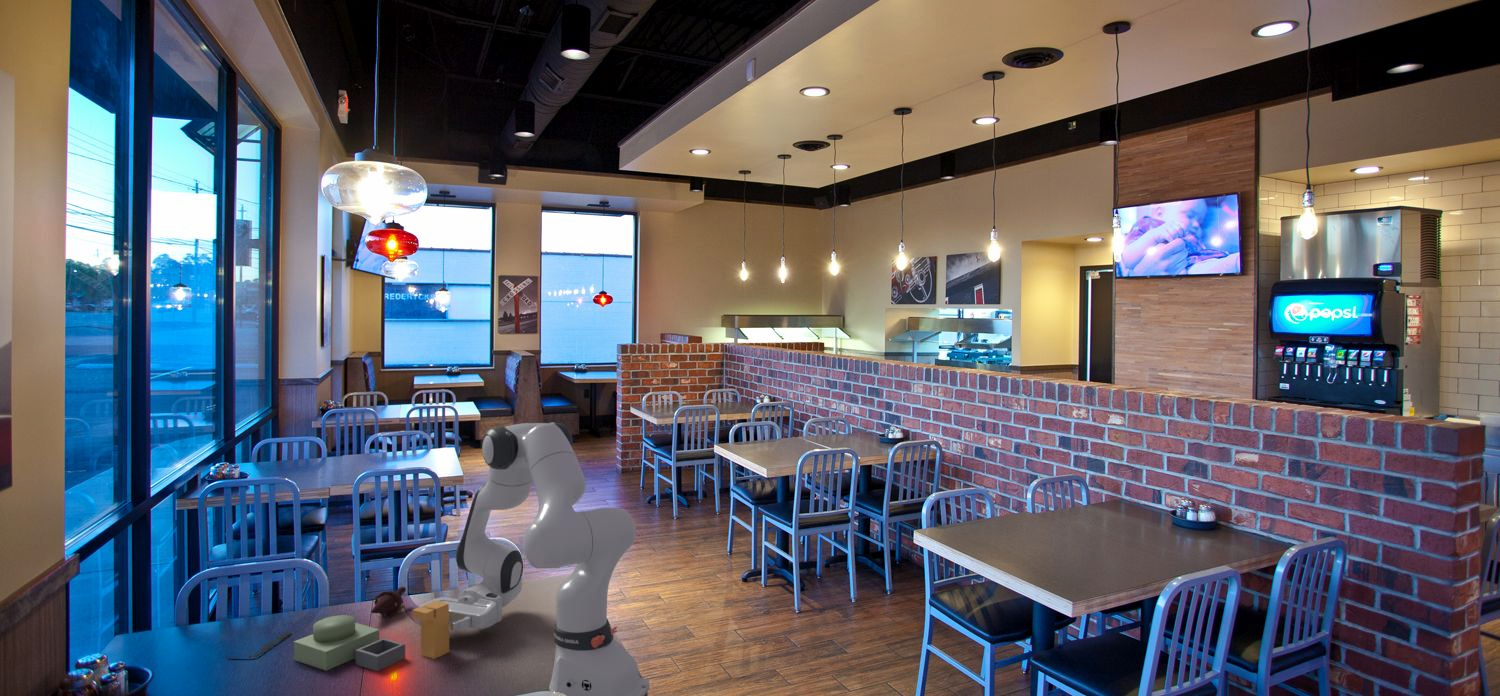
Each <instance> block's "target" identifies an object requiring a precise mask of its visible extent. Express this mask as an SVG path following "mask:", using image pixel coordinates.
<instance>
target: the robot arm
mask: <svg viewBox="0 0 1500 696" xmlns="http://www.w3.org/2000/svg"><path fill="white" fill-rule="evenodd" d="M481 448H482V456H483V459H484V462H485V463H486V465H487V466H488V467H489V469H488V476H487V480H486V483H485V484H483V485H481V486H479V488H478V489H477V490H476V492H475V494H474V496H473V498H472V501H471V504H470V509H469V512H468V515H467V519H466V523H465V526H464V530H463V534H462V536H461V539H460V541H459V543H458V545H457V548H456V549H455V561H456V566H457V567H458V568H459V570H461V571H465V572H468V573H470V574H471V573H472V574H474V575H477V576H479V577H480V578H482V581H481V582H480V583H477V584H474V585H473V586H470V587H469V588H466V589H464V590H463V591H461V592H460V593H459V595H458V596H457V598H452V597H445V596H441V597H436V598H433V599H431V600H428V601H426V602H423V603H422V604H421V605H420V606H419V607H421V606H423V605H426V604H428V603H431V602H433V601H440V602H444V603H448V604H449V631H455V632H456V631H458V630H461V629H466V628H472V629H478V630H483V629H487V628H490V627H492V626H493V625H495V624H497V623H499V622H501V621H502V619H503V608H505V607H506V606H508V605H509V604H510V603H512V602H513V601H515V600H516V598H517V597H518V596H519V594H520V593H521V592H522V589H523V588H522V587H523V580H522V577H523V573H524V571H523V570H524V561H523V556H522V554H521V552H520V551H519V550H517V549H514V548H513V547H510V546H508V545H506V544H502V543H500V542H498V541H496V540H493V539H491V538H489V537H488V536H487V535H486V529H487V526H488V521H489V518H490V514H491V511H507V510H511V509H514V508H517V507H518V506H520V505H521V504H523V503H524V502H525V501H526V500H528V499H527V498H528V497H529V496H530V493H531V490H532V483H533V485H534V488H535V492H536V495H537V499H538V500H537V501H538V511H537V513H536V516H535V519H534V520H533V522H532V523H531V524H530V525H529V526H528V527H527V529H526V531H525V533H524V535H523V539H522V551H523V555H524V557H525V558H526V559H525V560H526V561H527V562H528V563H529V564H530V565H531V566H532V567H533V568H535V569H544V570H545V569H549V570H550V569H560V568H564V567H565V568H566V567H569V566H573V565H576V566H575V567H574V570H573V571H572V573H571V574H570V575H569V576H568V577H566V578H565V579H564V580H563V581H562V582H561V583H560V584H559V586H558V588H557V590H556V593H555V602H556V603H555V620H556V621H555V623H554V627H553V628H554V631H553V640H554V643H555V650H554V651H555V652H554V653H555V654H554V662H553V663H554V664H553V670H552V674H551V675H552V676H551V679H550V682H549V686H548V690H549V692H550V691H555V692H560V693H564V694H566V695H567V696H645V695H646V694H647V693H648V691H649V690H650V681H649V680H648V679H646V678H643V677H641V676H640V673H639V665H638V664H637V661H636V659H635V658H634V656H632V655H631V654H630V653H629V651H627V650H626V649H625V648H623V646H622V645H621V644H620V643H619V642H618V641H617V640H616V639H615V637H614V636H615V635H614V634H616V632H618V630H617V628H618V626H615V627H613V628H612V626H611V624H610V621H609V619H608V617H607V616H608V593H609V592H608V591H609V586H610V582H611V578H612V576H613V572H614V570H615V569H616V567H617V564H618V563H619V561H620V559H621V558H622V557H623V555H624V554H625V553H626V552H627V551H628V550H629V549H630V548H631V547H632V546H633V544H634V541H635V539H636V533H637V531H636V530H637V529H636V523H635V521H634V518H633V516H632V515H631V514H630V512H629V511H627V510H626V509H624V508H621V507H618V508H617V507H600V508H595V509H589V510H584V511H575V510H574V507H573V505H575V504H577V502H579V501H580V499H581V498H582V497H583V496H584V495H585V491H586V490H587V489H586V488H587V480H586V478H585V474H584V473H583V470H582V467H581V465H580V462H579V461H578V458H577V454H576V453H575V451H574V449H573V436H572V433H571V431H570V430H569V427H567V426H566V425H565V424H564V423H560V422H552V421H551V422H547V423H546V422H541V423H540V422H536V423H535V422H532V423H527V422H525V423H518V424H517V423H515V424H512V425H507V426H503V425H501V426H496V427H493V428H491V429H488V430H487V431H486V433H485V435H484V437H483V439H482V447H481ZM418 625H419V626H421V620H418ZM640 677H641V678H640ZM643 681H644V682H645V683H644V682H643ZM645 685H646V686H645Z"/></svg>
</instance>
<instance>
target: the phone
mask: <svg viewBox="0 0 1500 696" xmlns="http://www.w3.org/2000/svg"><path fill="white" fill-rule="evenodd" d="M285 632H286V633H287V634H286V633H285V634H283V635H281V636H280V637H278V638H279V639H277V640H278V641H277V640H276V641H277V642H275V641H272V642H269V643H268V644H266V645H264V646H263V647H265V646H266V647H265V648H263V647H262V648H263V649H261V648H260V649H261V650H260V651H261V652H260V653H257V652H255V653H257V654H258V655H257V654H255V655H254V657H257V656H259V655H260V654H262V653H263V652H264V651H266V650H268V649H270V648H271V647H272V646H274V645H275V644H276V643H278V642H280V641H282V640H283V639H284V638H286V637H287V636H289V635H290V634H291V633H292V631H285ZM291 635H292V634H291ZM291 635H290V636H291ZM290 636H289V637H290ZM286 639H287V638H286ZM283 641H284V640H283ZM283 641H282V642H283ZM273 642H275V643H273ZM271 643H272V644H271ZM280 643H281V642H280ZM270 650H271V649H270ZM258 652H259V651H258ZM250 654H251V653H250ZM245 656H247V655H245ZM228 657H229V656H228V655H227V658H228ZM230 657H233V656H230ZM235 657H236V656H235ZM239 657H240V656H239ZM251 657H253V656H250V655H249V658H251Z"/></svg>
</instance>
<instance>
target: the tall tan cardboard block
mask: <svg viewBox="0 0 1500 696" xmlns="http://www.w3.org/2000/svg"><path fill="white" fill-rule="evenodd" d="M420 606H421V605H420ZM420 606H419V607H416V608H414V609H412V619H415V620H418V621H419V620H421V625H420V651H421V652H420V653H421V655H420V656H423V657H426V658H429V659H432V660H436V659H437V658H440V657H442V656H443V655H446V654H447V653H450V624H449V604H448V603H444V602H440V601H433V602H431V603H428V604H426V605H423V606H421V607H420Z"/></svg>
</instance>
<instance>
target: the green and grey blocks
mask: <svg viewBox="0 0 1500 696" xmlns="http://www.w3.org/2000/svg"><path fill="white" fill-rule="evenodd" d="M312 632H313V634H310V635H309V634H308V635H307V636H305V637H302V638H299V639H296V640H294V641H293V660H294V661H296V662H299V663H302V664H306V665H307V666H311V667H314V668H317V669H320V670H323V671H326V672H327V671H329V670H332V669H334V668H336V667H338V666H341V665H343V664H345V663H348V662H349V661H352V660H355V665H357V666H359V667H362V668H366V669H368V670H371V671H374V672H380V671H381V670H383V669H386V668H388V667H390V666H392V665H394V664H396V663H399V662H401V661H404V660H405V659H406V644H405V643H403V642H400V641H395V640H393V639H389V638H385V637H383V638H381V639H380V629H379V628H374V627H371V626H368V625H364V624H362V623H358V622H356V618H355V616H352V615H347V614H343V615H341V614H340V615H333V616H332V615H331V616H328V617H324V618H322V619H320V620H317V621H316V622H314V624H313V625H312Z"/></svg>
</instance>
